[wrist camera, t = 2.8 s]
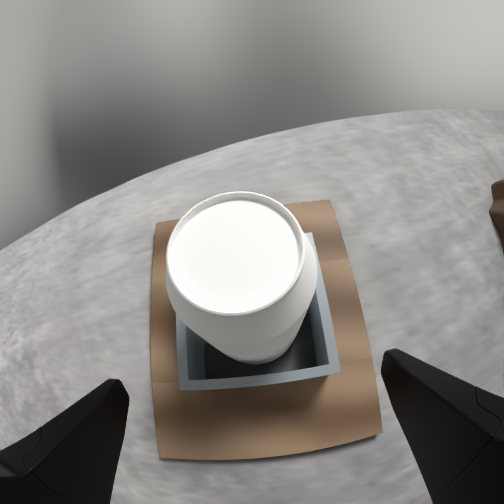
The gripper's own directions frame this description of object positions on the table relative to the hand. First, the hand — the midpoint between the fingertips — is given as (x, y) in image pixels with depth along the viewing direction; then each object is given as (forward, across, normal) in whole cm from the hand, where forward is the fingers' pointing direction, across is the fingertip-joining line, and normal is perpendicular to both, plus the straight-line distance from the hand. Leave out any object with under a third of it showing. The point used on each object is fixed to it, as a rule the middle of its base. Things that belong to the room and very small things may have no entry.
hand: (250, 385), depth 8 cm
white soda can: (+11, 0, +5) cm, 12 cm away
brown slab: (+11, 0, +5) cm, 12 cm away
